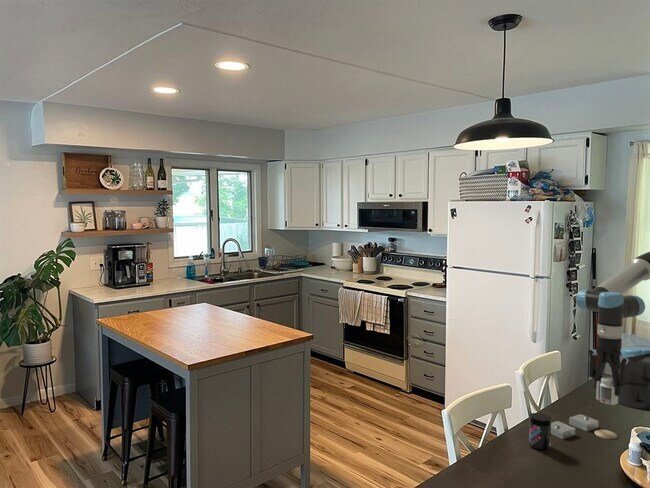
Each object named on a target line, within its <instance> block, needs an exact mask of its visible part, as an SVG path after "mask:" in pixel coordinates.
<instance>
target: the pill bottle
mask: <svg viewBox="0 0 650 488" xmlns="http://www.w3.org/2000/svg"><path fill="white" fill-rule="evenodd" d="M601 382H602V383H600V399H599V401H600V402H601V403H602V404H606V405H612V404H611V393H612V386H613V385H614V382H613V377H610V376H609V377H608V376H602V378H601Z"/></svg>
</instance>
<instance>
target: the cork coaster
mask: <svg viewBox="0 0 650 488" xmlns="http://www.w3.org/2000/svg"><path fill="white" fill-rule="evenodd" d="M594 435H596V436H597V437H599V438H600V439H601V438H602V439H604V440H616V439H617V438H618V435H617V434H616V433H615V432H614V431H611V430H607V429H596V430H594Z"/></svg>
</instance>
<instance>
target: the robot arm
mask: <svg viewBox="0 0 650 488" xmlns="http://www.w3.org/2000/svg"><path fill="white" fill-rule="evenodd" d="M649 280H650V251H648V252H645V253H643V254H640V255H638V256H637V257H634V258H633V259H631V260H630V262H629V264H628V265H627V266H626V267H624V268H623V269H621V270H620V271H618V272H617V273H615V274H613V276H611V277H608V278H607V279H606V280H605V281H604V282H601V283H600V284H599V285H597V286H596V287H594V288H593V289H591V290H589V289H581V290H580V291H578V293H577V294H576V297H575V302H576V305H577V307H579V309H582V310H587V311H591V312H597V331H596V332H597V337H596V346H597V347H596V349H589V350H588V354H589V374H588V375H589V377H590V378H592V379H594V389H595V390H596V392H595V394H596V395H595V399H596V400H598V401H600V383H602V382H601V378H602V377H603V374H604V370H605V368H606V364H607V363H608V365H609V368H610V370H611V376H612V377H611V378H612V379H613V382H614V385H613V386H612V393H611V404H610V405H612V406H616V405H617V404H618V405H619V404H620V405H622V406H626V407H628V408H629V407H630V408H634V409H640V410H642V409H643V410H650V347H647V346H625V347H623V348H622V342H623V341H622V340H623V339H622V337H623V321H624V320H623V319H626V318H635V317H638V316H641V315H642V314H643V313H644V312H645V310H646V304H645V301H644V300H643V299H642V298H641V297H640V296H638V295H631V294H629V295H623V294H625V293H627V292H628V291H629V290H631V289H633V288H634V287H636V286H637V285H638V284H640V283H642V282H643V281H649Z"/></svg>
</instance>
